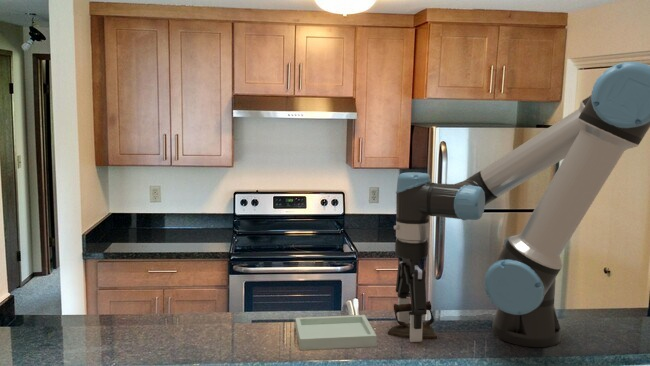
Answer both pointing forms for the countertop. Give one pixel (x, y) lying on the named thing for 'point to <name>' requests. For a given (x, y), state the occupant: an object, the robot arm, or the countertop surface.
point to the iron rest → (334, 332)
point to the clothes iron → (404, 328)
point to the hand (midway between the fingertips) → (409, 332)
